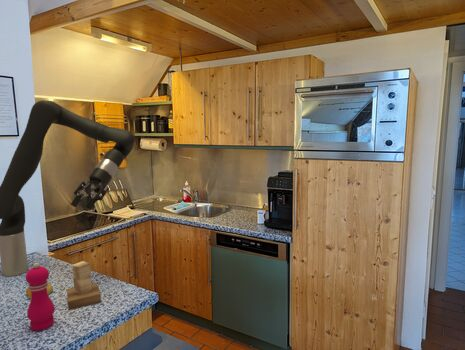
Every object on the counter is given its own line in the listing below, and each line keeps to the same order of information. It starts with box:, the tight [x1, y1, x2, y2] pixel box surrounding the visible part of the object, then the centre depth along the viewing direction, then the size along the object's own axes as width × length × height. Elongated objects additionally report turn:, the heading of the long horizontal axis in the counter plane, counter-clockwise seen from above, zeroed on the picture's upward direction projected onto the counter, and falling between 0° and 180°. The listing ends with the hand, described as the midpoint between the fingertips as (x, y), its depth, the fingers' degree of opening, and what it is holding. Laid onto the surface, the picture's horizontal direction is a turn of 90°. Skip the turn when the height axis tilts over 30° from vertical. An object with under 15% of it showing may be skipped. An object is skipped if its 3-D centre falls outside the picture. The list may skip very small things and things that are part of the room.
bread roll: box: [25, 282, 54, 300], centre depth 121 cm, size 8×9×4 cm
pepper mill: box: [25, 262, 56, 332], centre depth 100 cm, size 7×7×20 cm
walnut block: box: [66, 281, 102, 311], centre depth 116 cm, size 10×10×3 cm
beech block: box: [71, 260, 92, 295], centre depth 115 cm, size 4×4×10 cm
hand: (80, 207), depth 122 cm, fingers open, 8 cm apart
